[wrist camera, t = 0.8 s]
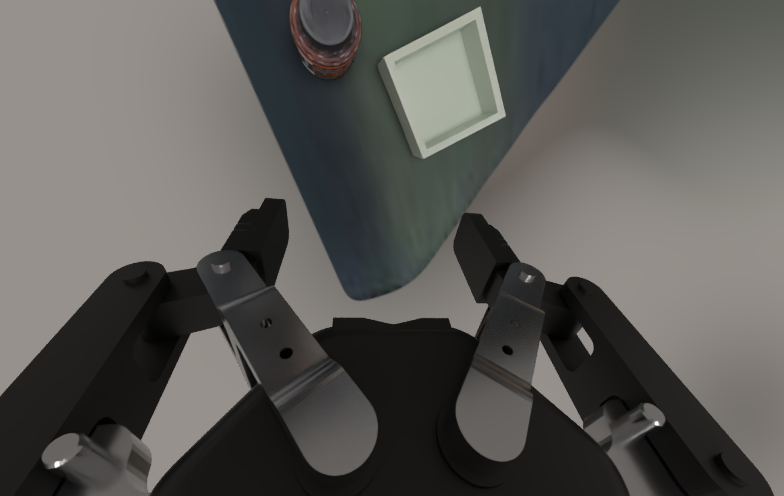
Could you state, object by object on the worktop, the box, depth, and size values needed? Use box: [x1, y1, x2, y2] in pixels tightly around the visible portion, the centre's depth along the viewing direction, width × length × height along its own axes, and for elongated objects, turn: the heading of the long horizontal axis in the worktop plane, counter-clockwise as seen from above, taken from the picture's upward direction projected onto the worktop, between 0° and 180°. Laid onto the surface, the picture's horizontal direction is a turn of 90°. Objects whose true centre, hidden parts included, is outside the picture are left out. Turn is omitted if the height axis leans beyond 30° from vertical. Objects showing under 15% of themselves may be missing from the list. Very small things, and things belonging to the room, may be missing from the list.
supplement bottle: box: [289, 0, 362, 80], centre depth 25 cm, size 6×6×11 cm
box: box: [377, 7, 506, 159], centre depth 32 cm, size 11×11×4 cm
